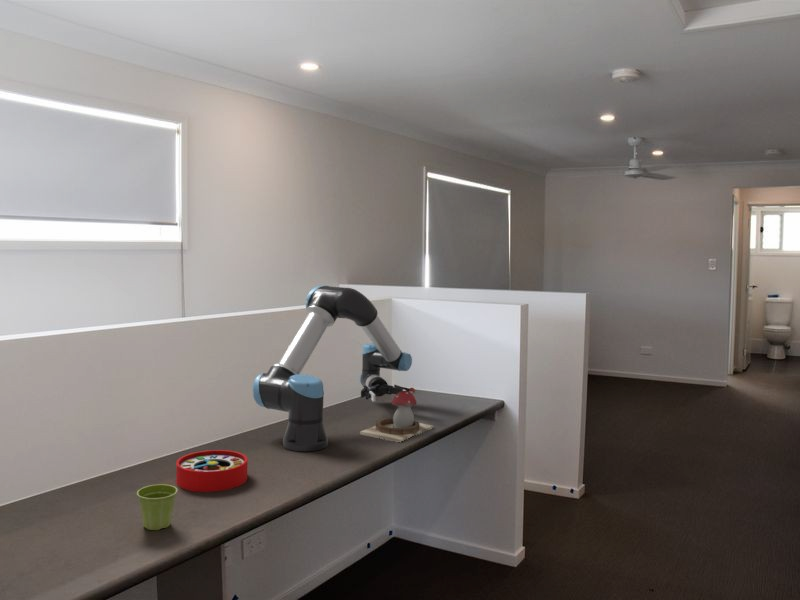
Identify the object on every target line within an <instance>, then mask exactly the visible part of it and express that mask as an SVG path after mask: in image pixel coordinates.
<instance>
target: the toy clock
mask: <svg viewBox="0 0 800 600" xmlns="http://www.w3.org/2000/svg"><path fill="white" fill-rule="evenodd" d="M175 464H176V468H175V478H176V479H175V482H176V485H177V486H178V487H179V488H180V489H183V490H186V491H192V492H200V493H201V492H203V493H210V492H211V493H212V492H220V491H221V490H222V491H227V490H231V489H233V488H234V487H235V488H237V487H240V486H241V485H243V484H245V483H247V480H248V457H247V456H246V455H245V454H243V453H241V452H238V451H233V450H226V449H225V450H224V449H223V450H222V449H214V450H213V449H212V450H202V451H197V452H196V451H195V452H191V453H188V454H186V455H182V456H181V457H179V458H178V459H177V460H176V462H175ZM230 488H231V489H230ZM226 489H227V490H226Z"/></svg>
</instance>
